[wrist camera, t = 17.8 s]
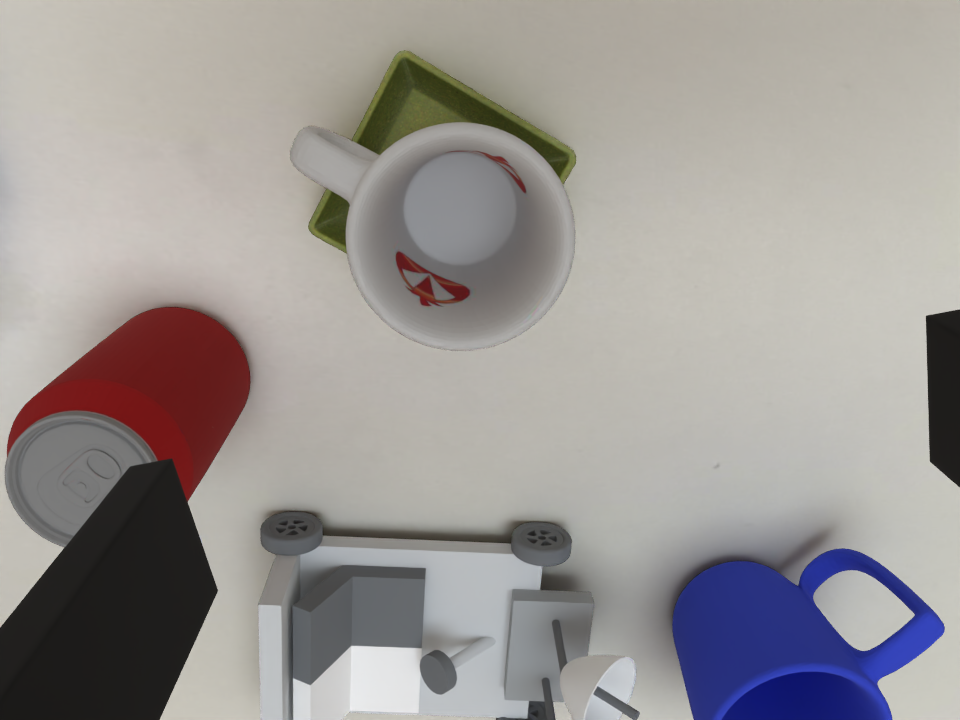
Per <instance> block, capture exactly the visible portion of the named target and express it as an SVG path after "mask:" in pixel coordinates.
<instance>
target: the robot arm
mask: <svg viewBox="0 0 960 720" xmlns="http://www.w3.org/2000/svg"><path fill="white" fill-rule="evenodd" d="M926 333H927V370H928V408H929V445H930V462H931V463H932V464H933V465H935V466H936V467H937V468H938V469H939V470H940V471H942V472H943V473H944V474H945V475H946V476H947V477H948V478H950V479H951V480H952V481H953V482H954V483H955V484H957V485H958V486H959V487H960V310H955V311H949V312H944V313H939V314H933V315H928V316H926ZM217 592H218V589H217V587H216V584H215V581H214V578H213V575H212V572H211V569H210V566H209V563H208V560H207V558H206V555H205V552H204V549H203V546H202V543H201V540H200V537H199V534H198V531H197V529H196V526H195V523H194V520H193V517H192V514H191V511H190V508H189V505H188V502H187V499H186V497H185V494H184V491H183V488H182V485H181V482H180V479H179V476H178V473H177V470H176V468H175V465H174V462H173V459H172V458H171V459H166V460H161V461H155V462H150V463H145V464H140V465H134V466H130V467H129V468H128V470H127V471H126V472H125V473H124V474H123V476H122V477H121V478H120V479H119V481H118V482H117V483H116V484H115V486H114V487H113V488H112V489H111V491H110V492H109V493H108V494H107V496H106V497H105V498H104V499H103V501H102V502H101V503H100V504H99V506H98V507H97V508H96V509H95V511H94V512H93V513H92V514H91V516H90V517H89V518H88V519H87V521H86V522H85V523H84V524H83V525H82V527H81V528H80V529H79V530H78V532H77V533H76V534H75V535H74V537H73V538H72V539H71V540H70V542H69V543H68V544H67V545H66V547H65V548H64V549H63V550H62V552H61V553H60V554H59V555H58V557H57V558H56V559H55V560H54V562H53V563H52V564H51V565H50V567H49V568H48V569H47V570H46V572H45V573H44V574H43V575H42V576H41V578H40V579H39V580H38V581H37V583H36V584H35V585H34V586H33V588H32V589H31V590H30V591H29V593H28V594H27V595H26V596H25V598H24V599H23V600H22V601H21V603H20V604H19V605H18V606H17V608H16V609H15V610H14V611H13V613H12V614H11V615H10V616H9V618H8V619H7V620H6V621H5V622H4V624H3V625H2V626H1V627H0V720H160V717H161V715H162V713H163V711H164V709H165V706H166V704H167V702H168V700H169V697H170V695H171V693H172V691H173V689H174V686H175V684H176V682H177V680H178V678H179V675H180V673H181V671H182V669H183V667H184V664H185V662H186V660H187V658H188V656H189V653H190V651H191V649H192V647H193V645H194V642H195V640H196V638H197V636H198V634H199V631H200V629H201V627H202V625H203V623H204V620H205V618H206V616H207V614H208V612H209V609H210V607H211V605H212V603H213V600H214V598H215V596H216V594H217Z"/></svg>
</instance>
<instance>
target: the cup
mask: <svg viewBox="0 0 960 720" xmlns="http://www.w3.org/2000/svg"><path fill="white" fill-rule="evenodd" d="M290 160H291V162H292V163H293V165H294V166H295V167H296V168H297V169H298V170H299V171H300V172H301V173H303V174H304V175H305V176H307V177H308V178H310V179H311V180H313V181H315V182H316V183H318V184H320V185H322V186H323V187H325V188H327V189H329V190H331V191H332V192H334V193H336V194H338V195H340V196H341V197H343V198H344V199H346V200H347V201H348V203H349V204H350V207H349V211H348V216H347V223H346V250H347V257H348V261H349V265H350V269H351V272H352V275H353V278H354V280H355V282H356V285H357V287H358V289H359V291H360V292H361V294H362V296H363V297H364V299H365V300H366V302H367V303H368V305H369V306H370V307H371V309H372V310H373V311H374V312H375V313H376V314H377V315H378V316H379V317H380V318H381V319H382V320H383V321H384V322H385V323H386V324H387V325H389V326H390V327H391V328H392V329H394V330H395V331H397V332H398V333H400V334H401V335H403V336H405V337H407V338H409V339H411V340H413V341H416V342H418V343H421V344H423V345H426V346H430V347H434V348H438V349H444V350H451V351H470V350H477V349H484V348H488V347H492V346H495V345H498V344H501V343H504V342H506V341H508V340H511V339H513V338H515V337H517V336H518V335H520V334H522V333H523V332H525V331H526V330H528V329H529V328H530V327H532V326H533V325H534V324H535V323H536V322H538V321H539V320H540V319H541V318H542V317H543V316H544V315H545V314H546V313H547V312H548V310H549V309H550V308H551V307H552V305H553V304H554V303H555V301H556V300H557V298H558V297H559V295H560V293H561V292H562V290H563V288H564V286H565V283H566V281H567V279H568V276H569V273H570V270H571V267H572V262H573V258H574V251H575V222H574V216H573V211H572V207H571V204H570V201H569V198H568V195H567V193H566V191H565V188H564V186H563V184H562V183H561V181H560V179H559V177H558V176H557V174H556V173H555V171H554V170H553V168H552V167H551V166H550V165H549V164H548V162H547V161H546V160H545V159H544V158H543V157H542V156H541V155H540V154H539V153H538V152H537V151H536V150H535V149H533V148H532V147H531V146H530V145H528V144H527V143H525V142H524V141H522V140H521V139H519V138H517V137H516V136H514V135H512V134H510V133H507V132H505V131H503V130H500V129H497V128H494V127H491V126H487V125H482V124H476V123H466V122H455V123H444V124H438V125H434V126H430V127H426V128H423V129H420V130H418V131H415V132H413V133H411V134H409V135H407V136H405V137H403V138H402V139H400V140H398V141H397V142H395V143H394V144H393V145H391V146H390V147H389V148H387V149H386V150H385V151H384V152H383V153H382V154H381V155H378V154H376V153H374V152H372V151H371V150H369V149H367V148H365V147H363V146H361V145H359V144H357V143H355V142H353V141H351V140H349V139H347V138H345V137H343V136H341V135H339V134H336V133H334V132H332V131H330V130H327V129H324V128H320V127H315V126H307V127H304V128H303V129H302V130H301V131H299V133H298V134H297V136H296V138H295V139H294V142H293V145H292V147H291V150H290Z"/></svg>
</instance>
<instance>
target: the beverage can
mask: <svg viewBox="0 0 960 720" xmlns="http://www.w3.org/2000/svg"><path fill="white" fill-rule="evenodd" d="M249 390H250V372H249V366H248V363H247V359H246V357H245V354H244V352H243V350H242V348H241V346H240V345H239V343H238V342H237V340H236V339H235V338H234V336H233V335H232V334H231V333H230V332H229V331H228V330H227V329H226V328H225V327H224V326H222V325H221V324H220V323H218V322H217V321H215V320H214V319H212V318H210V317H209V316H207V315H205V314H202V313H200V312H197V311H194V310H190V309H185V308H178V307H164V308H157V309H152V310H149V311H146V312H143V313H141V314H139V315H137V316H135V317H134V318H132V319H130V320H129V321H128V322H126V323H125V324H124V325H123V326H121V327H120V328H119V329H117V330H116V331H115V332H113V333H112V334H111V335H109V336H108V337H107V338H106V339H104V340H103V341H102V342H100V343H99V344H98V345H97V346H95V347H94V348H93V349H92V350H90V351H89V352H88V353H86V354H85V355H84V356H83V357H81V358H80V359H79V360H78V361H77V362H75V363H74V364H73V365H72V366H70V367H69V368H68V369H67V370H65V371H64V372H63V373H62V374H60V375H59V376H58V377H57V378H56V379H54V380H53V381H52V382H51V383H50V384H48V385H47V386H46V387H45V388H44V389H43V390H41V391H40V392H39V393H38V394H37V395H35V396H34V397H33V398H32V399H31V400H30V401H29V402H28V403H26V405H25V406H24V407H23V408H22V409H21V411H20V412H19V414H18V415H17V417H16V419H15V421H14V423H13V425H12V428H11V431H10V434H9V439H8V444H7V460H6V465H5V484H6V489H7V493H8V496H9V499H10V501H11V503H12V505H13V507H14V509H15V510H16V512H17V513H18V515H19V516H20V517H21V519H22V520H23V521H24V522H25V523H26V524H27V525H28V526H29V527H30V528H31V529H32V530H33V531H35V532H36V533H37V534H39V535H40V536H41V537H43V538H45V539H47V540H48V541H50V542H52V543H54V544H57V545H59V546H62V547H66V545H67V544H68V543H69V542H70V540H71V539H72V538H73V537H74V535H75V534H76V533H77V532H78V530H79V529H80V528H81V527H82V525H83V524H84V523H85V522H86V521H87V519H88V518H89V517H90V516H91V514H92V513H93V512H94V511H95V509H96V508H97V507H98V506H99V504H100V503H101V502H102V501H103V499H104V498H105V497H106V496H107V494H108V493H109V492H110V491H111V489H112V488H113V487H114V486H115V484H116V483H117V482H118V481H119V479H120V478H121V477H122V476H123V474H124V473H125V472H126V471H127V470H128V468H129V467H130V466H134V465H140V464H145V463H150V462H155V461H161V460H166V459H171V458H172V459H173V462H174V465H175V468H176V470H177V473H178V476H179V479H180V482H181V485H182V488H183V491H184V494H185V497H186V499H187V502H188V500H189V499H190V497H191V495H192V494H193V492H194V491H195V489H196V487H197V486H198V484H199V483H200V481H201V480H202V478H203V476H204V475H205V473H206V471H207V470H208V468H209V466H210V465H211V463H212V461H213V460H214V458H215V457H216V455H217V453H218V452H219V450H220V448H221V447H222V445H223V443H224V441H225V440H226V438H227V436H228V435H229V433H230V431H231V430H232V428H233V426H234V424H235V422H236V421H237V419H238V417H239V415H240V414H241V412H242V410H243V408H244V406H245V404H246V401H247V399H248V395H249Z"/></svg>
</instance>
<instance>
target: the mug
mask: <svg viewBox="0 0 960 720" xmlns="http://www.w3.org/2000/svg"><path fill="white" fill-rule="evenodd" d="M845 570H858V571H861V572H864V573H866V574H868V575H870V576H872V577H874V578H875V579H877V580H878V581H879V582H881V583H882V584H883V585H885V586H886V587H887V588H888V589H889V590H890V591H892V592H893V593H894V594H895V595H896V596H897V597H898V598H899V599H900V600H901V601H902V602H903V603H904V604H905V605H906V606H907V607H908V608H909V609H910V610H911V611H912V612H913V613H914V614H915V616H914V617H913V618H912V619H911V620H910V621H909V622H908V623H907V624H906V625H904V626H903V627H902V628H901V629H900V630H899V631H897V632H896V633H895V634H893V635H892V636H891V637H889V638H888V639H887V640H885V641H884V642H883V643H881V644H880V645H878V646H876V647H875V648H873V649H871V650H868V651H860V650H857V649H855V648H853V647H852V646H851V645H849V644H848V643H847V642H846V641H845V640H844V639H843V638H842V637H841V636H840V635H839V633H838V632H837V631H836V630H835V629H834V628H833V626H832V625H831V624H830V623H829V621H828V620H827V619H826V618H825V616H824V615H823V614H822V613H821V611H820V610H819V609H818V607H817V606H816V605H815V603H814V600H813V594H814V592H815V591H816V589H817V588H818V587H819V586H820V585H821V584H822V583H823V582H824V581H825V580H827V579H828V578H829V577H831V576H832V575H834V574H836V573H838V572H841V571H845ZM672 626H673V637H674V642H675V647H676V651H677V655H678V659H679V663H680V667H681V671H682V675H683V679H684V683H685V687H686V691H687V695H688V699H689V703H690V707H691V711H692V715H693V719H694V720H892V715H891V711H890V709H889V706H888V703H887V701H886V700H885V698H884V696H883V695H882V693H881V691H880V690H879V688H878V685H877V682H878V680H879V679H881V678H882V677H884V676H886V675H888V674H890V673H892V672H894V671H896V670H898V669H900V668H901V667H903V666H904V665H906V664H908V663H909V662H910V661H912V660H913V659H915V658H916V657H917V656H919V655H920V654H921V653H922V652H924V651H925V650H926V649H927V648H929V647H930V646H931V645H932V644H933V643H934V642H935V641H936V640H937V639H938V638H940V637H941V636H942V635H943V633H944V629H945V627H944V624H943V623H942V621H941V620H940V618H939V617H938V615H937V614H936V613H935V612H934V611H933V610H932V609H931V608H930V607H929V606H928V605H927V604H926V603H925V602H924V601H923V600H922V599H921V598H920V597H919V596H917V595H916V594H915V593H914V592H913V591H912V590H911V589H910V588H909V587H908V586H907V585H906V584H904V583H903V582H902V581H901V580H900V579H899V578H897V577H896V576H895V575H894V574H893V573H891V572H890V571H889V570H888V569H886V568H885V567H884V566H882V565H881V564H880V563H878V562H877V561H875V560H874V559H872V558H870V557H869V556H867V555H865V554H863V553H860V552H857V551H854V550H851V549H843V548H842V549H834V550H830V551H827V552H825V553H823V554H821V555H819V556H818V557H817V558H815V559H814V560H813V561H812V562H810V564H809V565H808V566H807V567H806V568H805V569H804V571H803V573H802V574H801V577H800V581H799V585H798V586H796V585H795V584H793V583H792V582H790V581H789V580H788V579H786V578H785V577H784V576H782V575H781V574H779V573H778V572H776V571H775V570H773V569H771V568H769V567H767V566H764V565H762V564H758V563H754V562H747V561H734V562H726V563H723V564H719V565H716V566H713V567H711V568H709V569H707V570H705V571H703V572H702V573H700V574H699V575H697V576H696V577H695V578H694V579H693V580H692V581H690V582H689V583H688V585H687V586H686V587H685V588H684V590H683V591H682V593H681V594H680V596H679V598H678V600H677V603H676V606H675V609H674V614H673V624H672Z"/></svg>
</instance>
